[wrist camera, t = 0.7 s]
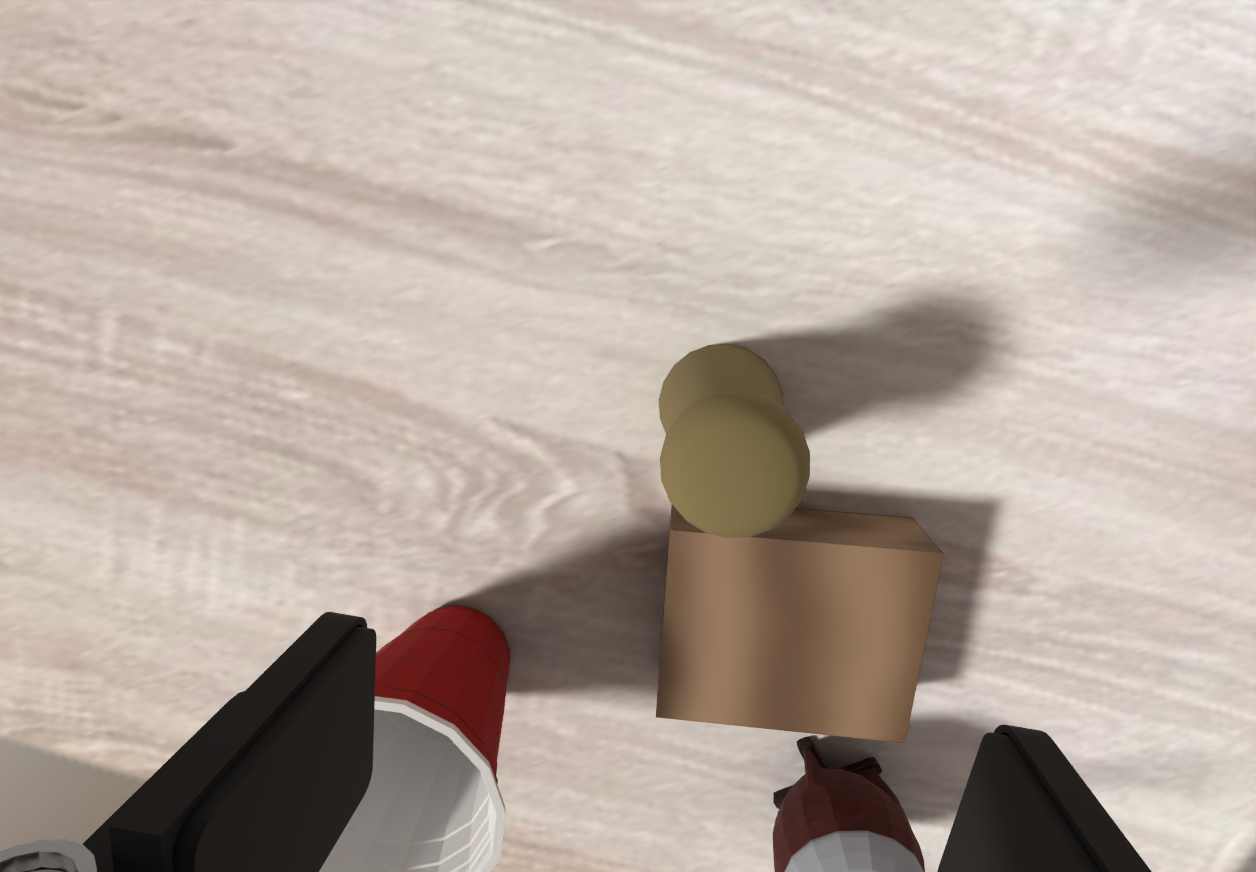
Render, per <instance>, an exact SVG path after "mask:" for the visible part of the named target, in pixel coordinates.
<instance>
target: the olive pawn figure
mask: <svg viewBox="0 0 1256 872" xmlns="http://www.w3.org/2000/svg"><path fill="white" fill-rule="evenodd" d="M659 409H660V419H661V422H662V424H663V427H664V429H665V432H666V437H665V441H664V445H663V448H662V452H661V456H660V465H661V481H662V483H663V486H664V488H665V490H666V493H667V495H668V498H669V500H670V502H671V503H672V505H673V506H674V507H675V508H676V509H677V510H678V512H679V513H680V514H681V515H682V516H683V517H684V518H685V520H686V521H688V522H689V523H691V524H692V525H694V526H696V527H697V528H699V529H700V530H702V531H704V532H706V533H709V534H713V535H717V536H721V537H725V538H741V537H751V536H754V535H757V534H760V533H763V532H766V531H769V530H771V529H773V528H774V527H775V526H777V525H778V524H780V523H781V522H782V521H784V520H785V519H787V518H788V517H789V516H790V514H791V513H792V512H793V511H794V509H795V508H796V507H797V505H798V504H799V503H800V501H801V500H802V497H803V494H804V492H805V489H806V486H807V483H808V480H809V476H810V451H809V449H808V446H807V443H806V440H805V437H804V434H803V432H802V430H801V428H800V427H799V426H798V424H797V423H796V422H795V421H794V420H793V418H792V417H791V416H790V415H789V413H788V412H787V411H786V410H785V409H784V408H783V392H782V390H781V387H780V384H779V381H778V378H777V376H776V374H775V373H774V372H773V370H772V369H771V368H770V366H769V365H768V364H767V363H766V361H765V360H764V359H762V358H761V357H759V356H757V355H756V354H754V353H753V352H751V351H750V350H748V349H745V348H741V347H737V346H733V345H730V344H723V345H708V346H706V347H703V348H700V349H698V350H695V351H693V352H690V353H689V354H687V355H686V356H685V357H684V358H683V359H681V360H680V361H679V362H678V363H676V364H675V365H674V366H673V368H672V369H671V371H670V373H669V374H668V376H667V377H666V379H665V380H664V382H663V386H662V390H661V394H660V398H659Z"/></svg>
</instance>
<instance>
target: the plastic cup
mask: <svg viewBox="0 0 1256 872" xmlns="http://www.w3.org/2000/svg"><path fill="white" fill-rule="evenodd" d="M509 652H510V650H509V647H508V644H507V641H506V638H505V635H504V633H503V632H502V631H501V630H500V628H499V627H498V626H497V625H496V624H495V623H494V621H493V620H492V619H491V618H489V617H487V616H486V615H484V614H482V613H480V612H478V611H477V610H475V609H472V608H466V607H460V606H449V607H444V608H439V609H435V610H434V611H432V612H429V613H428V614H426V615H425V616H423V617H422V618H420V619H419V620H417V621H416V622H415V623H413V624H412V625H411V626H410V627H409V628H407V629H406V630H405V631H404V632H403V633H402V634H401V635H399V636H398V637H396V638H395V639H393V640H392V641H391V642H389V643H388V644H386V645H385V646H384V647H382V648H381V649H380V650H379V651H378V652H377V653H376V669H375V706H374V743H373V770H372V776H371V780H370V783H369V786H368V789H367V791H366V793H365V795H364V797H363V799H362V800H361V802H360V804H359V805H358V807H357V809H356V811H355V812H354V814H353V816H352V817H351V819H350V821H349V822H348V824H347V826H346V827H345V829H344V831H343V832H342V834H341V836H340V837H339V839H338V841H337V842H336V844H335V846H334V848H333V849H332V851H331V853H330V854H329V856H328V858H327V859H326V861H325V863H324V864H323V866H322V868H321V869H320V871H319V872H491V871H492V869H493V868H494V866H495V865H496V863H497V862H498V860H499V859H500V857H501V849H502V841H503V832H504V823H505V815H506V812H505V805H504V802H503V799H502V796H501V794H500V791H499V788H498V785H497V783H498V780H497V777H496V771H497V756H498V749H499V742H500V735H501V728H502V721H503V714H504V706H505V696H506V686H507V680H508V674H509V664H510V655H509Z"/></svg>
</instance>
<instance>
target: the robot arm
mask: <svg viewBox="0 0 1256 872" xmlns="http://www.w3.org/2000/svg"><path fill="white" fill-rule="evenodd" d="M375 669H376V632H375V630H373V629H370V628H367V623H366V620H365V619H364V618H363V617H357V616H351V615H345V614H339V613H333V612H326V613H324V614H323V615H322V616H320V617H319V618H318V619H317V620H316V621H315V622H314V623H313V624H312V625H311V626H310V627H309V628H308V629H307V630H306V631H305V632H304V633H303V634H302V635H301V636H300V637H299V638H298V639H297V640H296V641H295V642H294V643H293V644H292V645H291V646H290V647H289V648H288V649H287V650H286V651H285V652H284V653H283V654H282V655H281V656H280V657H279V658H278V659H277V660H276V661H275V662H274V663H273V664H272V665H271V666H270V667H269V668H268V669H267V670H266V671H265V672H264V673H263V674H262V675H261V676H260V677H259V678H258V679H257V680H256V681H255V682H254V683H253V684H252V685H251V686H250V687H249V688H248V689H247V690H246V691H244V692H240V693H238V694H237V695H236V696H234V697H233V698H232V699H231V700H229V701H228V702H227V703H226V704H225V705H224V706H223V707H222V708H221V709H220V710H219V711H218V712H217V713H216V714H215V715H214V716H213V717H212V718H211V719H210V720H209V721H208V722H207V723H206V724H205V725H204V726H203V727H202V728H201V729H200V730H199V731H198V732H197V733H196V734H195V735H194V736H193V737H192V738H190V739H189V740H188V741H187V742H186V743H185V744H184V745H183V746H182V747H181V748H180V749H179V750H178V751H177V752H176V753H175V754H174V755H173V756H172V757H171V758H170V759H169V760H168V761H167V762H166V763H165V764H164V765H163V766H162V767H161V768H160V769H159V770H158V771H157V772H156V773H155V774H154V775H153V776H152V777H151V778H150V779H149V780H148V781H146V782H145V783H144V784H143V785H142V786H141V787H140V788H139V789H138V790H137V791H136V792H135V793H134V794H133V795H132V796H131V797H130V798H129V799H128V800H127V801H126V802H125V803H124V804H123V805H122V806H121V807H120V808H119V809H118V810H117V811H116V812H115V813H114V814H113V815H112V816H111V817H110V818H109V819H108V820H107V821H106V822H105V823H104V824H103V825H102V826H101V827H100V828H98V829H97V830H96V831H95V832H94V834H92V835H91V836H90V837H89V838H88V839H87V840H86V841H85V842H84V843H83V844H79V843H76V842H73V841H69V840H65V839H61V840H60V839H59V840H39V841H35V842H30V843H26V844H22V845H17V846H14V847H11V848H9V849H6V850H3V851H1V852H0V872H319V871H320V869H321V868H322V866H323V864H324V863H325V861H326V859H327V858H328V856H329V854H330V853H331V851H332V849H333V848H334V846H335V844H336V842H337V841H338V839H339V837H340V836H341V834H342V832H343V831H344V829H345V827H346V826H347V824H348V822H349V821H350V819H351V817H352V816H353V814H354V812H355V811H356V809H357V807H358V805H359V804H360V802H361V800H362V799H363V797H364V795H365V793H366V791H367V789H368V786H369V783H370V780H371V776H372V770H373V743H374V706H375ZM938 872H1151V870H1150V869H1149V868H1148V866H1147V865H1146V864H1145V862H1144V861H1143V860H1142V858H1141V857H1140V856H1139V854H1138V853H1137V852H1136V850H1135V849H1134V848H1133V846H1132V845H1131V844H1130V842H1129V841H1128V840H1127V838H1126V837H1125V836H1124V834H1123V833H1122V832H1121V830H1120V829H1119V828H1118V826H1117V825H1116V824H1115V822H1114V821H1113V820H1112V818H1111V817H1110V816H1109V814H1108V813H1107V812H1106V810H1105V809H1104V808H1103V806H1102V805H1101V804H1100V802H1099V801H1098V800H1097V798H1096V797H1095V796H1094V794H1093V793H1092V792H1091V790H1090V789H1089V788H1088V786H1087V785H1086V784H1085V782H1084V781H1083V780H1082V778H1081V777H1080V776H1079V774H1078V773H1077V772H1076V770H1075V769H1074V768H1073V766H1072V765H1071V764H1070V762H1069V761H1068V760H1067V758H1066V757H1065V756H1064V754H1063V753H1062V752H1061V750H1060V749H1059V748H1058V747H1057V745H1056V744H1055V743H1054V741H1053V740H1052V739H1051V737H1050V736H1049V735H1048V734H1047V733H1045V732H1043V731H1039V730H1033V729H1027V728H1022V727H1016V726H1010V725H1000V726H998V727H997V728H996V729H995V731H994V733H987V734H985V735H984V737H983V739H982V741H981V744H980V747H979V750H978V753H977V756H976V759H975V762H974V765H973V767H972V770H971V773H970V776H969V779H968V782H967V785H966V788H965V791H964V794H963V797H962V800H961V803H960V806H959V809H958V812H957V815H956V818H955V820H954V823H953V826H952V829H951V832H950V835H949V838H948V841H947V844H946V847H945V850H944V853H943V856H942V859H941V862H940V865H939V868H938Z"/></svg>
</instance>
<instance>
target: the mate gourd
mask: <svg viewBox="0 0 1256 872" xmlns="http://www.w3.org/2000/svg"><path fill="white" fill-rule="evenodd" d="M797 746H798V749H799V751H800V753H801V755H802V757H803V759H804V762H805V772H806V774H805V775H804V776H802V777H801V778H800V779H799V780H798V781H797V782H796V783H795V784H794V785H793V786H790V787H787V788H784V789H782V790H779V791H777V792H775V793H774V801H773V802H774V804H775V806H776V807H777V808H778V809H779V812H778V814H777V817H776V820H775V825H774V830H773V852H774V868H775V872H925V868H924V859H923V856H922V852H921V849H920V846H919V844H918V842H917V840H916V838H915V836H914V834H913V831H912V829H911V827H910V824H909V822H908V819H907V817H906V815H905V813H904V811H903V809H902V807H901V805H900V803H899V801H898V799H897V797H896V796H895V794H894V793H893V792H892V791H891V789H890V788H889V787H888V785H887V784H886V783H885V782H884V781H883V780H882V779H881V777H880V776H879V775H878V774H879V773H881V772H882V769H881V767H880V766H879V764H878V762H877V761H876V759H875V758H874V757H871V758H868V759H865V760H862V761H859V762H856V763H853V764H851V765H848V766H845V767H842V768H839V769H827V767H826V766H825V764H824V762H823V761H822V759H821V757H820V755H819V753H818V752H817V750H816V748H815V746H814V744H813V743H812V741H811V740H810V738H809V737H805V738H802V739H799V740H798V741H797Z"/></svg>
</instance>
